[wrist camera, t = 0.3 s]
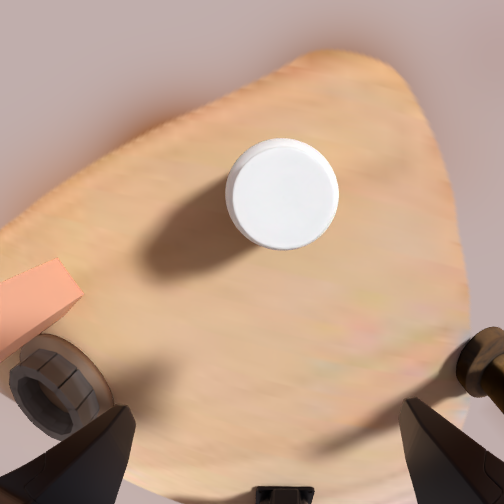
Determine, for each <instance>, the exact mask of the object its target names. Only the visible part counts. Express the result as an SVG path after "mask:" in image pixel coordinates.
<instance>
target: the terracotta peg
mask: <svg viewBox="0 0 504 504" xmlns="http://www.w3.org/2000/svg"><path fill="white" fill-rule="evenodd" d="M83 295H84V293H83V292H82V290H81V289H80V288H79V286H78V285H77V284H76V282H75V281H74V280H73V278H72V277H71V276H70V274H69V273H68V271H67V270H66V269H65V267H64V266H63V264H62V263H61V262H60V260H59V259H58V258H56V259H53V260H51V261H48V262H46V263H44V264H41V265H39V266H37V267H34V268H32V269H30V270H28V271H25V272H23V273H21V274H18V275H16V276H14V277H12V278H10V279H7V280H5V281H3V282H1V283H0V363H1V362H2V361H3V360H5V359H6V358H7V357H9V356H10V355H11V354H13V353H14V352H15V351H17V350H18V349H19V348H21V347H22V346H23V345H25V344H26V343H27V342H29V341H30V340H31V339H33V338H34V337H36V336H37V335H38V334H40V333H41V332H42V331H44V330H45V329H47V328H48V327H49V326H51V325H52V324H54V323H55V322H56V321H58V320H59V319H61V318H62V317H63V316H64V315H65V314H66V313H67V312H68V311H69V310H70V309H71V308H72V306H73V305H74V304H75V303H76V302H77V301H78V300H79V299H80V298H81V297H82V296H83Z"/></svg>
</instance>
